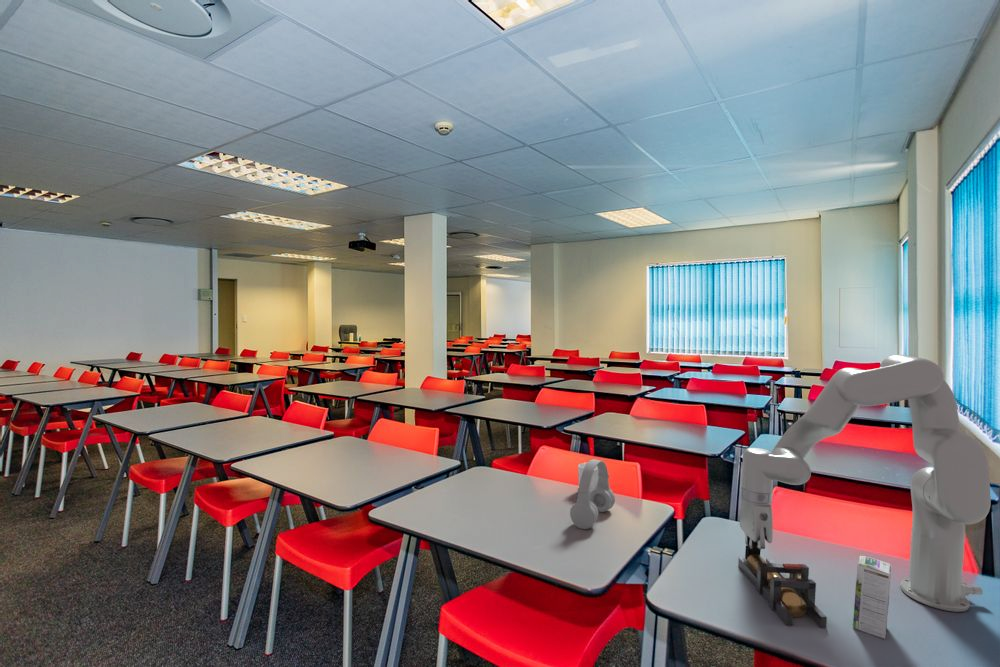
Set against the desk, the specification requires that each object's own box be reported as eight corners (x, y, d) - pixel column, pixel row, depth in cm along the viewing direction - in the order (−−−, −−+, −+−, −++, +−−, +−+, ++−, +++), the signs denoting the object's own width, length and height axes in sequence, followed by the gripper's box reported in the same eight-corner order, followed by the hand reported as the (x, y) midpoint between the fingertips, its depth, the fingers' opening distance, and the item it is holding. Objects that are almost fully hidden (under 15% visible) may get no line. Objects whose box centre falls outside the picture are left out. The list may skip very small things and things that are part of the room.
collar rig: (771, 567, 131) (773, 534, 130) (828, 627, 106) (830, 587, 105) (736, 565, 131) (738, 533, 131) (784, 625, 106) (786, 585, 106)
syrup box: (854, 616, 110) (857, 553, 109) (887, 627, 106) (891, 562, 106) (852, 628, 106) (856, 563, 105) (887, 640, 102) (891, 573, 101)
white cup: (573, 489, 185) (574, 463, 184) (592, 487, 187) (593, 462, 187) (583, 497, 177) (584, 470, 177) (602, 495, 180) (603, 468, 179)
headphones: (593, 533, 149) (595, 471, 148) (568, 526, 153) (570, 466, 152) (615, 511, 166) (617, 455, 165) (592, 505, 170) (593, 451, 169)
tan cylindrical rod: (747, 571, 129) (745, 555, 129) (764, 568, 129) (761, 552, 129) (788, 618, 109) (785, 599, 109) (808, 615, 109) (805, 596, 109)
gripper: (784, 507, 123) (780, 577, 124) (758, 485, 138) (754, 548, 138) (754, 505, 123) (749, 575, 124) (730, 484, 138) (727, 547, 139)
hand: (752, 561), depth 131 cm, fingers closed
